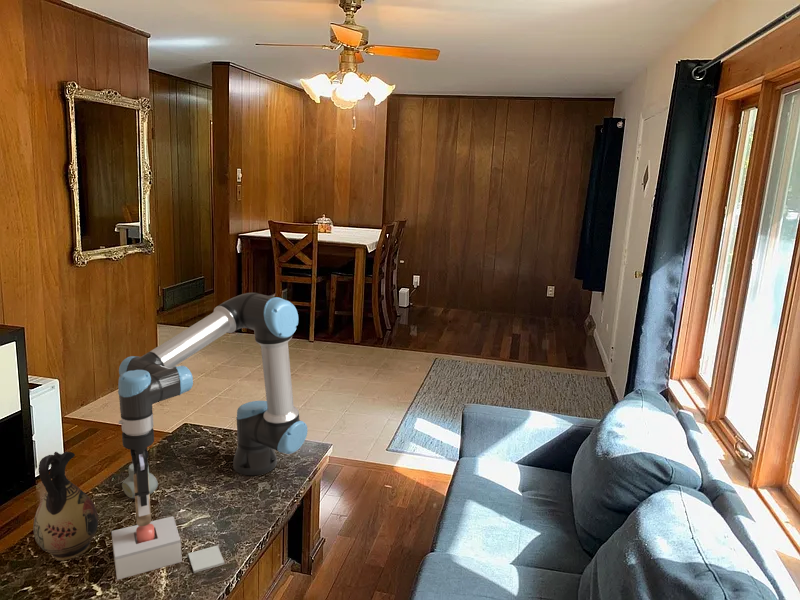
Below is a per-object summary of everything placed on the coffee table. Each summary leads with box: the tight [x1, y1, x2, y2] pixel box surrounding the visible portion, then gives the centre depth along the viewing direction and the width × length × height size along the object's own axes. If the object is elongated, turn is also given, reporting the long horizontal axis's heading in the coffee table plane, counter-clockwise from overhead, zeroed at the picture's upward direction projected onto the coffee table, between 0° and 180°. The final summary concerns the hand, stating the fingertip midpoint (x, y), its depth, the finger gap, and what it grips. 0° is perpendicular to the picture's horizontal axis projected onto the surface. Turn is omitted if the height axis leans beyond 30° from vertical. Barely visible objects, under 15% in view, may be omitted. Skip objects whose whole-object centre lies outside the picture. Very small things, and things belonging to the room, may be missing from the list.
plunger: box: [136, 524, 155, 544], centre depth 162 cm, size 4×4×5 cm
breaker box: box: [111, 516, 183, 581], centre depth 163 cm, size 16×12×7 cm
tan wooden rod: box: [133, 474, 152, 526], centre depth 159 cm, size 4×4×14 cm
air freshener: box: [121, 462, 159, 499], centre depth 192 cm, size 11×8×10 cm
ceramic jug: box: [33, 451, 99, 562], centre depth 161 cm, size 17×15×30 cm
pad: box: [187, 544, 225, 574], centre depth 164 cm, size 8×8×1 cm
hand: (143, 510), depth 160 cm, fingers closed on tan wooden rod, 3 cm apart
